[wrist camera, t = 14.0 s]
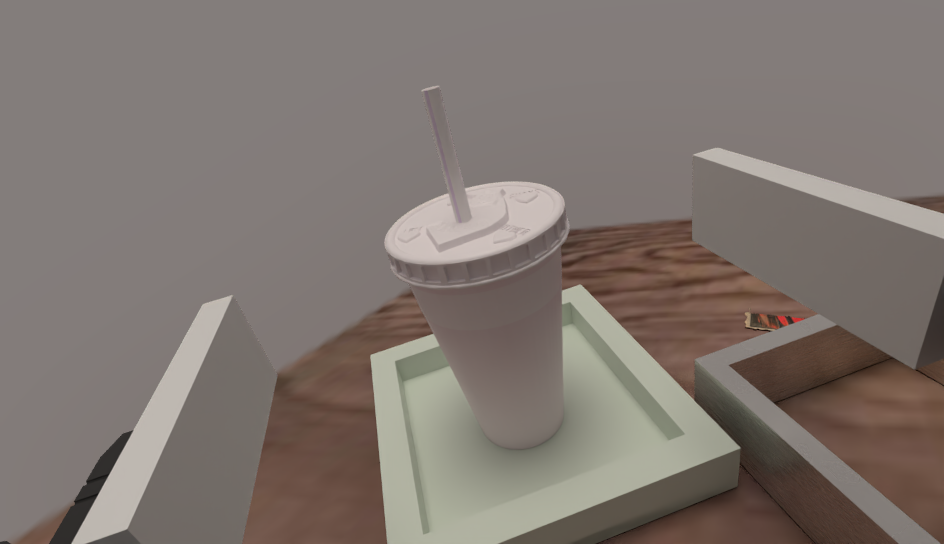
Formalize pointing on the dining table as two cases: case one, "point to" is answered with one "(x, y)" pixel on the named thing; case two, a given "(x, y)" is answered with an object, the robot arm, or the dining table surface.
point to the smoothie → (490, 291)
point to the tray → (545, 446)
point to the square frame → (801, 429)
